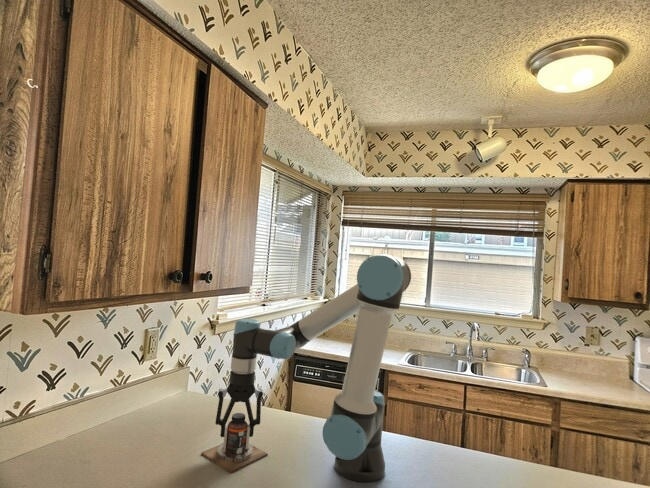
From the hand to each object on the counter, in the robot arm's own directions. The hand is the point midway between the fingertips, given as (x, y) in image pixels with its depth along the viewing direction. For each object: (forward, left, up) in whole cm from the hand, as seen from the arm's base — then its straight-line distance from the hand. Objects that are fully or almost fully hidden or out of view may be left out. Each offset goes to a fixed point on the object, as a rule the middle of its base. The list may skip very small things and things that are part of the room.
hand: (235, 446), depth 116 cm
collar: (0, 0, -2) cm, 2 cm away
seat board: (0, 0, -2) cm, 2 cm away
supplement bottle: (0, 0, -2) cm, 2 cm away
